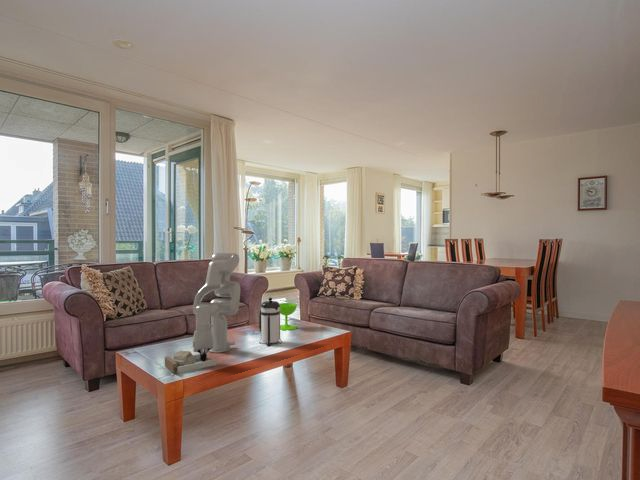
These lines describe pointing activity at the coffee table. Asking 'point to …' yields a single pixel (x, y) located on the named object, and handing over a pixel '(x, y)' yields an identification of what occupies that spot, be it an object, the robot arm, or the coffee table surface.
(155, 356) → the coffee table surface
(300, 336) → the coffee table surface
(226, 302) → the robot arm
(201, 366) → the channel
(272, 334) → the coffee press
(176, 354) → the fossil replica
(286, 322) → the wineglass
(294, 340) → the coffee table surface
